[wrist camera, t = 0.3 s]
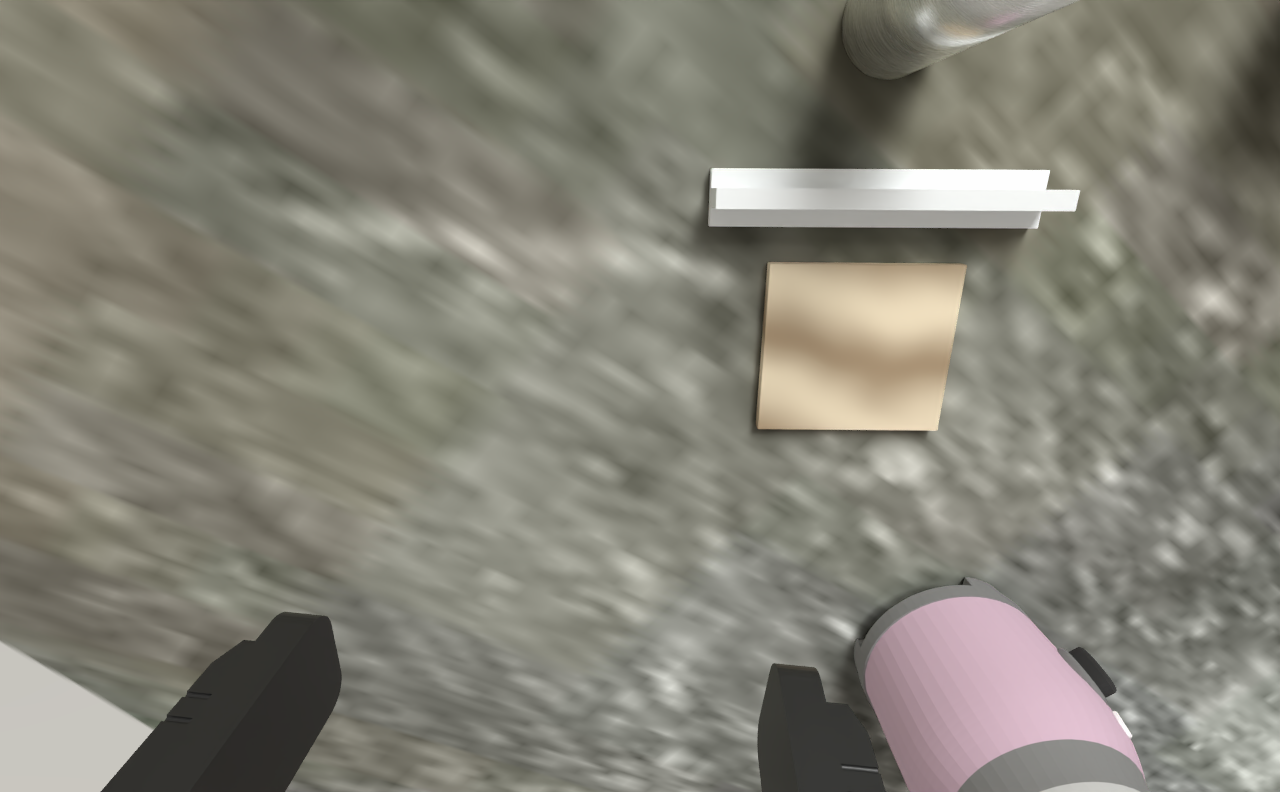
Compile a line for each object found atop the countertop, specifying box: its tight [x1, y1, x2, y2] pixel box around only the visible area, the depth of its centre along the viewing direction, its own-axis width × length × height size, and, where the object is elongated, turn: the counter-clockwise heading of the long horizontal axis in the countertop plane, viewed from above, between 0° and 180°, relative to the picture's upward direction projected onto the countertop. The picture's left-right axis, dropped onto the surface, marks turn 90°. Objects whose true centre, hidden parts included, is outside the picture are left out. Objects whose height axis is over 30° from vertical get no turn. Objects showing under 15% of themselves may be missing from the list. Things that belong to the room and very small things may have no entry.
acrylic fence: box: [708, 168, 1080, 229], centre depth 32 cm, size 3×18×4 cm, turn 90°
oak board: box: [756, 262, 967, 431], centre depth 36 cm, size 10×11×1 cm
